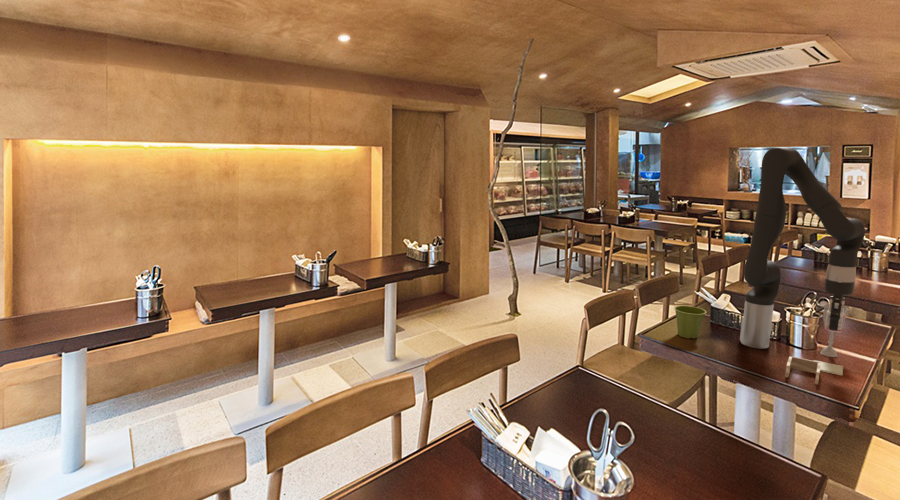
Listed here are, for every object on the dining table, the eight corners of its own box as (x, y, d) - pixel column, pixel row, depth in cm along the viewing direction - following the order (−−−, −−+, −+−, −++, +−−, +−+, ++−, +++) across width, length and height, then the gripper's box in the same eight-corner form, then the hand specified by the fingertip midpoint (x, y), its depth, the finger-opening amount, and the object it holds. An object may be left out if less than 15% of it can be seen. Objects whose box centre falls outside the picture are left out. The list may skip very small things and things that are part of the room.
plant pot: (705, 342, 184) (707, 315, 182) (671, 338, 189) (674, 311, 187) (703, 333, 194) (705, 307, 192) (671, 329, 199) (674, 303, 197)
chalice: (838, 352, 173) (845, 306, 170) (844, 359, 167) (851, 311, 164) (814, 349, 176) (820, 303, 173) (819, 356, 170) (825, 308, 167)
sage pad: (813, 361, 166) (813, 360, 166) (842, 367, 161) (843, 366, 160) (812, 369, 160) (812, 367, 160) (842, 375, 155) (842, 374, 154)
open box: (788, 366, 162) (789, 355, 161) (819, 373, 156) (821, 362, 156) (785, 376, 154) (786, 365, 153) (817, 384, 149) (819, 372, 148)
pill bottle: (845, 333, 155) (849, 308, 153) (829, 332, 156) (832, 308, 154) (836, 328, 159) (840, 304, 158) (821, 327, 160) (824, 303, 159)
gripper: (826, 273, 162) (820, 320, 165) (824, 281, 151) (818, 331, 154) (854, 276, 157) (847, 324, 160) (855, 284, 147) (847, 336, 150)
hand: (833, 327), depth 157 cm, fingers closed on pill bottle, 4 cm apart
